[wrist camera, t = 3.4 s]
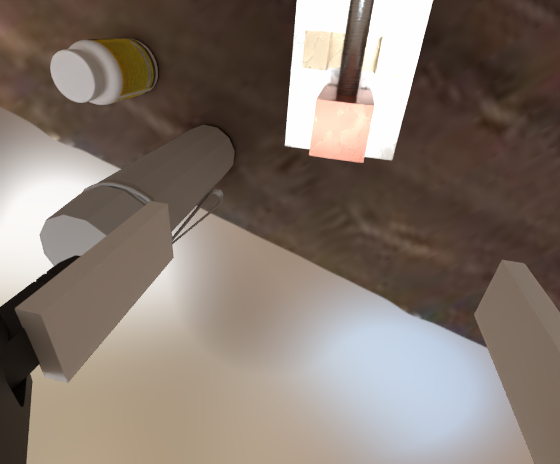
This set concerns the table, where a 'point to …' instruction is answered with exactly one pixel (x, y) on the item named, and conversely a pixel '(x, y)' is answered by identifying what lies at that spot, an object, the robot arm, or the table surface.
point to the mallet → (346, 97)
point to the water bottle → (143, 192)
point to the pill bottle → (104, 70)
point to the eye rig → (375, 71)
